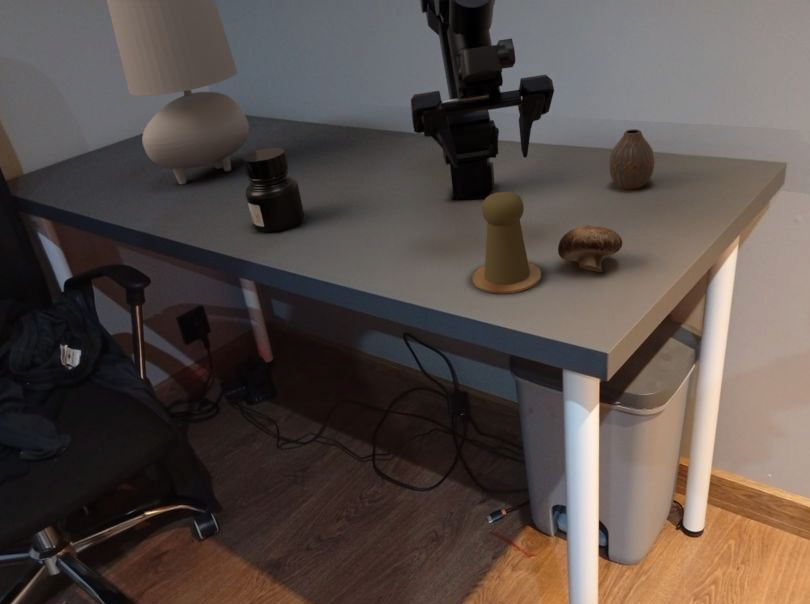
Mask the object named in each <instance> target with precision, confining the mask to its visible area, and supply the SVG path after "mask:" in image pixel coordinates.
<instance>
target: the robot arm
mask: <svg viewBox="0 0 810 604" xmlns="http://www.w3.org/2000/svg"><path fill="white" fill-rule="evenodd" d="M419 1H420V8H421V9H420V10H421V13H422V14H425V16H426V21H427V26H428V28H429V29H431V30H432V31H433V32H434V33H435V34H436V35H438V39H439V44H440V50H441V56H442V63H443V68H444V74H445V80H446V85H447V92H448V98H449V99H445V100H442V96H441V92H440V90H435V91H428V92H421V93H416V94H413V95H412V97H411V98H410V108H411V119H412V127H413V132H414V133H416V134H422V133H423V136H424V137H426V138H432V140H434V141H435V142H436V143H437V144H438V146H439V147H440V148H441V149H442V155H443V160H444V163H445V166H450V167H449V168H450V178H451V185H452V186H451V188H452V193H451V195H450V198H451V200H453V201H454V200H474V199H477V200H478V199H486V198H487V197H488V196H490V195H491V193H492V191H493V190H494V189H495V185H496V184H495V170H494V169H495V168H494V163H493V162H491V160H490V159H492V158H493V159H496V158H497V155H499V136H500V135H499V134H500V129H499V127H497V126H496V123H495V120H494V119H491V117H490V116H491V115H490V112H489V111H490V110H491V111H492V110H498V109H504V108H505V109H506V108H510V107H517V108H518V113H519V117H518V128H519V137H520V149H521V153H522V156H523V158H527V157H528V153H529V146H530V139H531V132H532V127H533V123H534V122H536V121H539V120H541V118H542V116H543V115H546V114H547V113H549V112H550V108H551V105H552V100H553V97H554V93H555V87H554V84H553V79H552V78H550V77H549V76H548V75H547V74H540V75H535V76H526V77H521V78H520V80H519V87H518V89H514V90H507V91H501V87H503V83H504V80H503V79H504V78H503V69H511V68H513V67H514V65H515V64H516V51H515V50H516V49H515V45H514V42H513V38H506V39H499V40H497V43H496V44H494V45H493V44H492V38H491V32H490V29H491V26H492V24H493V18H494V17H493V16H494V7H495V3H496V0H419Z"/></svg>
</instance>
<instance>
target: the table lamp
mask: <svg viewBox="0 0 810 604" xmlns="http://www.w3.org/2000/svg"><path fill="white" fill-rule="evenodd" d="M106 2H107V7H108V10H109V16H110V19H111V23H112V28H113V31H114V35H115V40H116V45H117V48H118V52H119V56H120V60H121V64H122V68H123V74H124V77H125V81H126V86H127V89H128V93H129V94H130V95H132V96H137V97H139V96H140V97H149V96H161V95H170V94H176V93H180V92H183V95H182V96H180V97H177V98H176V99H173V100H172V101H170V102H168V103H167V104H166V105H165V106H163V107H162V108H161V109H160V110H159V111H158V112H157V113H156V114H155V115H154V116H153V117H152V118H151V119H150V121H148V123H147V125H146V126H145V128H144V130H143V132H142V139H141V140H142V146H143V149H144V151H145V154H146V155H147V157H148V158H149V159H150V160H151V162H153V163H155V164H156V165H158V166H160V167H163V168H168V169H172V171H173V174H174V176H175V178H176V180H177V182H178V184H179V185H185V184H187V174H186V169H192V168H193V169H194V168H198V167H199V168H200V167H204V166H207V165H211V164H213V165H214V167H215V169H223V171H224V172H229V171H232V165H231V155H233V154H235V153H236V152H238V151H239V150H240V149H241V148H242V147H243V145H244V144H245V143H246V142H247V140H248V138H249V134H250V125H249V121H248V118H247V116H246V113H245V111H244V110H243V109H242V107H241V106H240V105H239V104H238V103H237V102H236V100H234V99H233V98H231V97H230V96H228V95H226V94H224V93H221V92H218V91H217V92H215V91H197V92H192V90H195V89H200V88H204V87H205V88H206V87H208V86H212V85H215V84H218V83H221V82H225V81H226V80H229V79H231V78H233V77H235V76H236V75H237V74H238V70H237V65H236V63H235V59H234V57H233V54H232V50H231V47H230V44H229V41H228V37H227V34H226V32H225V28H224V25H223V22H222V19H221V15H220V12H219V9H218V6H217V3H216V0H106Z"/></svg>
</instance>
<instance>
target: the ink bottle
mask: <svg viewBox="0 0 810 604" xmlns="http://www.w3.org/2000/svg"><path fill="white" fill-rule="evenodd" d="M242 160H243V164H244V169H245V172H246V176H247V179H248V181H249V184H248V185H247V187H246V189H245V198H246V202H247V205H248V209H249V213H250V217H251V220H252V221H251V222H252V224H253V227H254V229H255V230H256V231H259V232H263V233H265V232H266V233H271V232H280V231H285V230H288V229H291V228H295V227H296V226H298V225H299V224H301V223H302V221H303V220H304V219H305V212H304V207H303V201H302V197H301V193H300V188H299V183H298V181H297V179H295V178H294V177H292V176H291V175H290V174H289V166H288V160H287V156H286V152H285V149H283V148H279V147H268V148H261V149H257V150H254V151H252V152H249V153H247V154H245V155H244V156H243V159H242Z"/></svg>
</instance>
